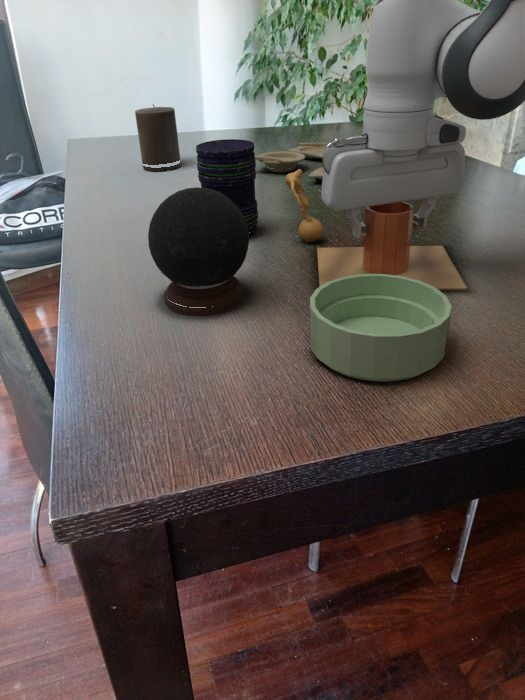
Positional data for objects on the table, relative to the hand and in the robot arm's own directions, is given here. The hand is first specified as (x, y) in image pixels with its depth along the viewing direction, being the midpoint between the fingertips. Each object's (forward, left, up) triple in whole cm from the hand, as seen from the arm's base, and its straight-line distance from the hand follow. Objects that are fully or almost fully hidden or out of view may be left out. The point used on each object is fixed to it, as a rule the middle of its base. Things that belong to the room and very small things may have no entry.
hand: (389, 231), depth 82 cm
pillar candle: (+48, -67, -6) cm, 83 cm away
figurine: (+12, -12, -6) cm, 18 cm away
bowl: (+4, +23, -6) cm, 24 cm away
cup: (0, 0, -5) cm, 5 cm away
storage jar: (+25, -17, -6) cm, 31 cm away
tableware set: (+6, -64, -6) cm, 65 cm away
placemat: (0, 0, -6) cm, 6 cm away
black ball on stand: (+26, +9, -6) cm, 28 cm away
